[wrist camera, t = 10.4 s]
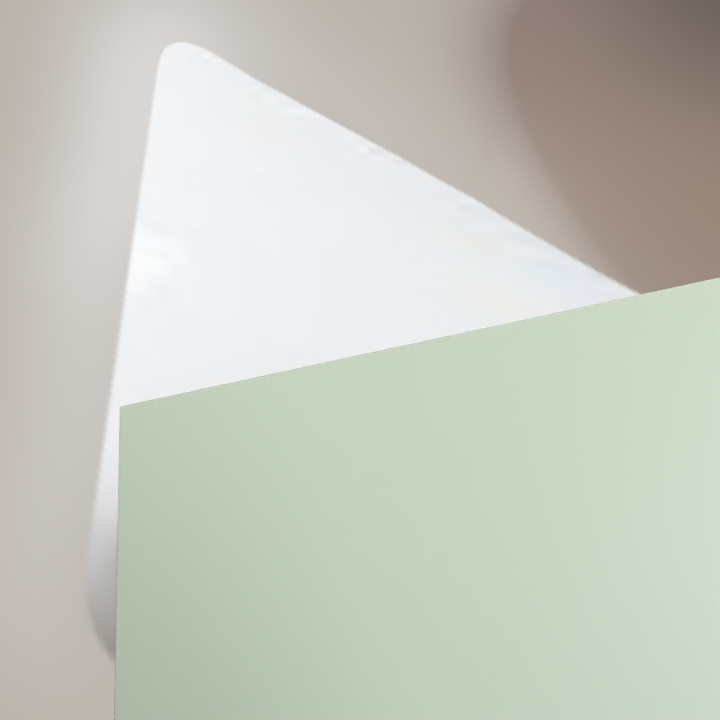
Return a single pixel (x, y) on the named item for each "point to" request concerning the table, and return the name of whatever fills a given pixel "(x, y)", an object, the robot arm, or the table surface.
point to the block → (435, 529)
